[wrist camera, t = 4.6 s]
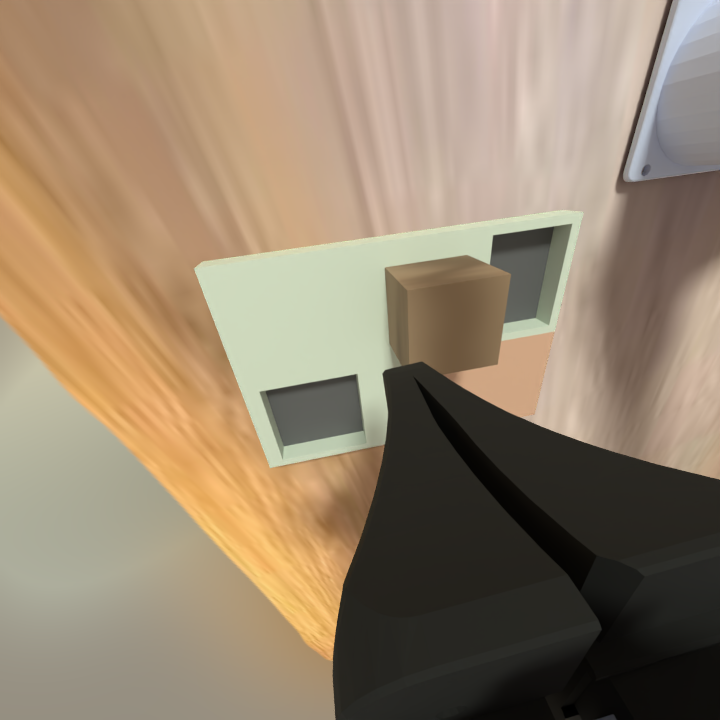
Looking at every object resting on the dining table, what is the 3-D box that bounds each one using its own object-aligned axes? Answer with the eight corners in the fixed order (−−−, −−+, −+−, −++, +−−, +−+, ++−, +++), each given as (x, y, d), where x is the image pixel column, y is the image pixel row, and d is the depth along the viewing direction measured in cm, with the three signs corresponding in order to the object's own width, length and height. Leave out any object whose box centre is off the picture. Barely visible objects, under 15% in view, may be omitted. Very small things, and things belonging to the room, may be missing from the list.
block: (467, 254, 16) (511, 273, 13) (461, 331, 19) (497, 364, 15) (384, 267, 16) (407, 290, 12) (389, 343, 18) (409, 380, 15)
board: (563, 209, 17) (583, 212, 16) (522, 402, 25) (534, 414, 23) (202, 261, 16) (193, 268, 14) (272, 451, 23) (270, 467, 22)
